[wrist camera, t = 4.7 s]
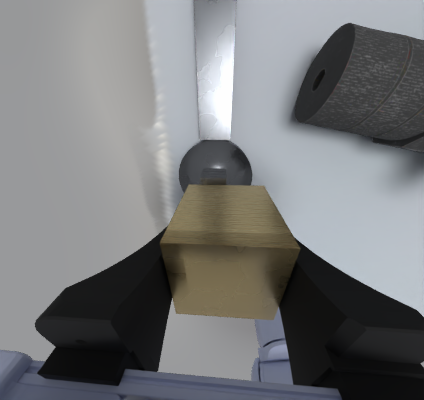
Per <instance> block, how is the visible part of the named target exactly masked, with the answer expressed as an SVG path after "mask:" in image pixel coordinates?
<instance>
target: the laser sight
mask: <svg viewBox="0 0 424 400" xmlns="http://www.w3.org/2000/svg"><path fill="white" fill-rule="evenodd" d="M295 116H296V119H297V121H298V122H300V123H308V124H312V125H316V126H321V127H327V128H331V129H335V130H340V131H346V132H351V133H356V134H360V135H364V136H369V137H372V138H373V142H374V143H379V144H384V145H389V146H394V147H398V148H403V149H408V150H413V151H418V152H423V153H424V40H420V39H416V38H413V37H409V36H406V35H401V34H395V33H389V32H385V31H380V30H375V29H370V28H366V27H362V26H359V25H356V24H352V23H347V24H345V25H343V26H341V27H340V28H339V29H338V30H336V31H335V32H334V33H333V35H332V36H331V37H330V38H329V39H328V40H327V42H326V43H325V44H324V46H323V47H322V49H321V50H320V51H319V53H318V55H317V56H316V58H315V60H314V61H313V63H312V65H311V67H310V69H309V71H308V73H307V75H306V77H305V79H304V81H303V84H302V86H301V89H300V92H299V95H298V99H297V103H296V109H295Z"/></svg>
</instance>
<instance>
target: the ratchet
mask: <svg viewBox="0 0 424 400" xmlns="http://www.w3.org/2000/svg"><path fill="white" fill-rule="evenodd" d="M194 17H195V40H196V63H197V86H198V108H199V131H200V140H204V141H201V142H199V143H197V144H196V145H195V146H193V147H192V148H191V149H190V150H189V151H188V152H187V153H186V155H185V156H184V158H183V160H182V162H181V164H180V168H179V181H180V185H181V187H182V190H183V191H184V193H185V191H186V189H187V187H188V185H189V184H190V185H245V186H250V185H251V181H252V170H251V166H250V163H249V161H248V159H247V157H246V155H245V154H244V152H243V151H242V150H241V149H240V148H239V147H238V146H237V145H236V144H234V143H232V142H230V141H228V140H230V134H231V112H232V90H233V67H234V45H235V23H236V0H194Z"/></svg>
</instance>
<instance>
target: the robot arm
mask: <svg viewBox="0 0 424 400" xmlns="http://www.w3.org/2000/svg"><path fill="white" fill-rule="evenodd" d="M167 227H168V226H167ZM167 227H166V228H165V229H164V230H163V231H162V232H161V233H159V234H158V235H157V236H156V237H155V238H153V239H152V240H151V241H150V242H149V243H147V244H146V245H145V246H143V247H142V248H140V249H139V250H138V251H136V252H135V253H133V254H131V255H130V256H128V257H127V258H125V259H123V260H122V261H120V262H118V263H117V264H115V265H113V266H111V267H109V268H108V269H106V270H104V271H102V272H100V273H98V274H96V275H94V276H92V277H89V278H88V279H85V280H83V281H81V282H78V283H76V284H74V285H72V286H69V287H67V288H65V289H64V291H62V293H61V294H60V295H59V296H58V297H57V298H56V299H55V300H54V301H53V302H52V303H51V305H50V306H49V307H48V308H47V309H46V310H45V311H44V312H43V313H42V314H41V315H40V317H39V318H38V319H37V320H36V322H35V327H36V330H37V331H38V332H39V333H40V334H41V335H42V336H43V337H45V338H46V339H47V340H48V341H49V342H51V343H52V344H53V345H54V346H55V347H56V348H55V349H54V350H53V352H52V353H51V355H50V356H49V357H48V359H47V360H46V361H35V360H32V358H31V357H30V356H28V355H26V354H24V353H21V352H17V351H7V350H0V400H424V368H423V366H422V365H421V364H420V363H422V362H423V361H424V317H423V316H422V315H421V314H420V313H419V312H418V311H417V310H415V309H413V308H411V307H409V306H407V305H405V304H403V303H401V302H399V301H397V300H395V299H393V298H390V297H388V296H386V295H384V294H382V293H380V292H378V291H376V290H374V289H372V288H371V287H369V286H367V285H365V284H363V283H361V282H359V281H358V280H356V279H354V278H352V277H350V276H349V275H347V274H345V273H344V272H342V271H340V270H339V269H337V268H335V267H334V266H332V265H331V264H329V263H328V262H326V261H325V260H323V259H322V258H320V257H319V256H317V255H316V254H315V253H313V252H312V251H311V250H309V249H308V248H307V247H305V246H304V245H303V244H302V243H300V242H299V241H298V240H297V239H296V238H295V240H296V242H297V243H298V245H299V247H300V252H299V254H298V257H297V260H296V262H295V265H294V268H293V270H292V273H291V276H290V278H289V281H288V284H287V286H286V289H285V292H284V294H283V297H282V299H281V302H280V305H279V307H278V310H277V313H276V315H275V318H274V320H262V319H255V326H256V333H257V339H258V342H259V345H260V347H261V348H258V353H259V358H256V359H255V361H254V364H253V367H252V374H251V379H252V380H251V381H248V380H237V379H226V378H215V377H205V376H195V375H184V374H173V373H162V372H157V371H158V368H159V362H160V356H161V351H162V345H163V340H164V335H165V330H166V324H167V319H168V315H169V310H170V305H171V301H172V294H171V289H170V285H169V281H168V276H167V272H166V268H165V264H164V259H163V255H162V251H161V247H160V241H161V239H162V237H163V235H164V233H165V231H166V229H167Z"/></svg>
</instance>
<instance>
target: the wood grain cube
mask: <svg viewBox="0 0 424 400" xmlns="http://www.w3.org/2000/svg"><path fill="white" fill-rule="evenodd" d="M160 247H161V251H162V255H163V259H164V264H165V268H166V272H167V276H168V281H169V285H170V289H171V294H172V298H173V302H174V306H175V310H176V313H177V314H191V315H205V316H219V317H234V318H248V319H262V320H274V318H275V315H276V313H277V310H278V307H279V305H280V302H281V299H282V297H283V294H284V292H285V289H286V286H287V284H288V281H289V278H290V276H291V273H292V270H293V268H294V265H295V262H296V260H297V257H298V254H299V252H300V247H299V245H298V243H297V242H296V240H295V238H294V237H293V235H292V233H291V231H290V230H289V228H288V226H287V225H286V223H285V221H284V219H283V218H282V216H281V214H280V213H279V211H278V209H277V207H276V206H275V204H274V202H273V201H272V199H271V197H270V196H269V194H268V192H267V190H266V189H265V187H264V186H245V185H190V184H189V185H188V187H187V189H186V191H185V193H184V195H183V197H182V199H181V201H180V203H179V205H178V207H177V209H176V211H175V213H174V215H173V217H172V219H171V221H170V223H169V225H168V227H167V229H166V231H165V233H164V235H163V237H162V239H161V241H160Z"/></svg>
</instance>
